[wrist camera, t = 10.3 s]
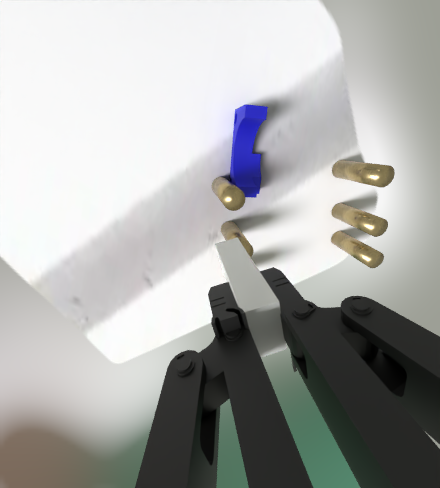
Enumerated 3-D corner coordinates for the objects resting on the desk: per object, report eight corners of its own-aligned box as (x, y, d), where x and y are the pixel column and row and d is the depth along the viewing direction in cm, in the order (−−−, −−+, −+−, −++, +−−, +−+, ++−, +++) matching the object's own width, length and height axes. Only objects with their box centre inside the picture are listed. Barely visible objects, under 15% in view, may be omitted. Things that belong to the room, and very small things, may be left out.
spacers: (210, 179, 39) (221, 190, 30) (348, 146, 41) (397, 148, 32) (230, 273, 47) (243, 305, 38) (344, 242, 49) (382, 265, 40)
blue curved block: (253, 190, 41) (265, 197, 36) (228, 189, 40) (237, 196, 35) (262, 112, 36) (278, 107, 31) (234, 109, 35) (245, 104, 30)
